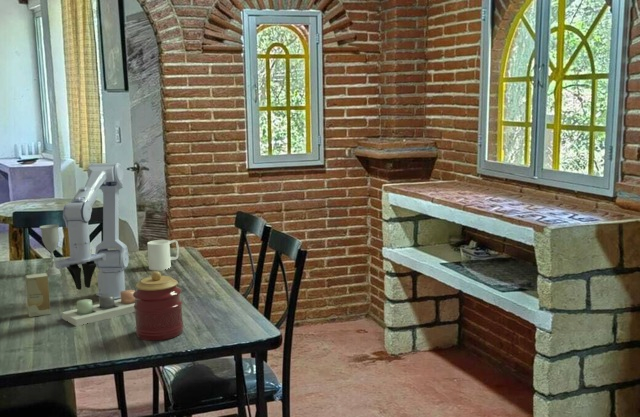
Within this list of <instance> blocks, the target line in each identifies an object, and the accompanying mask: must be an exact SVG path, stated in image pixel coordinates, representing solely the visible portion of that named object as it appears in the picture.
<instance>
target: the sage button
mask: <svg viewBox="0 0 640 417" xmlns="http://www.w3.org/2000/svg"><path fill="white" fill-rule="evenodd" d="M92 305H93V300H92V299H88V298H85V299H79V300H77V301H76V309H77V313H78V314H88V313H91V312H93V306H92Z"/></svg>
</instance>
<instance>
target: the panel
mask: <svg viewBox="0 0 640 417" xmlns="http://www.w3.org/2000/svg"><path fill="white" fill-rule="evenodd" d="M114 302H115V307H113V308H109V309H101V308H100V304H99V303H97V304H92V306H93V312H91V313H88V314H78V313H77V308H75V309H71V310H70V309H69V310H66V311H63V312H62V311H61V317H62V320H64V321H66V322H67V321H68V323H70V324H71V325H73V326H75V327H80V326H84V325H88V324H92V323H97V322H101V321H104V320H105V321H106V320H108V319H112V318H117V317H121V316H124V315H129V314H133V313H135V308H134V304H135V302H134V303H130V304H123V303H121V298H118V299H114ZM87 323H88V324H87ZM83 324H84V325H83ZM79 325H80V326H79Z"/></svg>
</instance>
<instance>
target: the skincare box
mask: <svg viewBox="0 0 640 417" xmlns="http://www.w3.org/2000/svg"><path fill="white" fill-rule="evenodd" d="M49 285H50V284H49V275H47V272H45V273H43V272H42V273H33V274H26V275H25V288H26V292H25V293H26V307H27V315H28V317H29V318H31V317H37V316H46V315H51V305H50V304H51V303H50V302H51V301H50V289H49V288H50V287H49Z"/></svg>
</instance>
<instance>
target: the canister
mask: <svg viewBox="0 0 640 417" xmlns="http://www.w3.org/2000/svg"><path fill="white" fill-rule="evenodd" d="M178 284H179V283H178V280H176V279H174V278H172V277H171V276H167V275H162V274H161V272H159V270H158V271H155V270H154V271H153V272H152V273H151V276H148V277H145V278H142V279H141V280H140V281H139V282H137V283H136V284H135V288H136V290H135V292H134V293H133V296H134V297H135V304H134V308H135V312H134V318H135V333H136V336H137V338H139V339H141V340H143V341H144V340H145V341H163V340H164V341H165V340H169V339H172V338H175V337H176V338H177V336H180V335H181V334H182V333H183V331H184V330H183V329H184V320H183V309H182V307H183V306H182V304H183V301H182V299H181V296H180V294H181V293H182V288H180V287H179V286H177V285H178Z"/></svg>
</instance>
